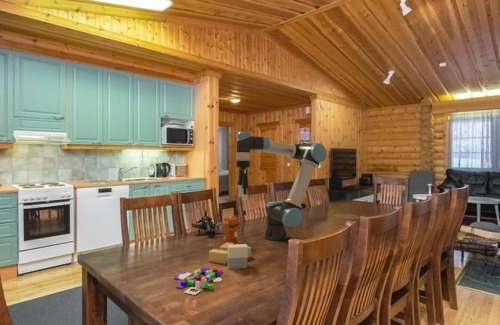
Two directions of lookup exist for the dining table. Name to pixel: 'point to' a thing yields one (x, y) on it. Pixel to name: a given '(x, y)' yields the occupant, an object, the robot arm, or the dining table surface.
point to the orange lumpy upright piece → (231, 229)
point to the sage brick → (249, 252)
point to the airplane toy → (206, 224)
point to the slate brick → (237, 262)
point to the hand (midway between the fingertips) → (242, 198)
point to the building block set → (198, 279)
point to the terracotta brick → (225, 246)
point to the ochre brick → (218, 256)
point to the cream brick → (237, 251)
